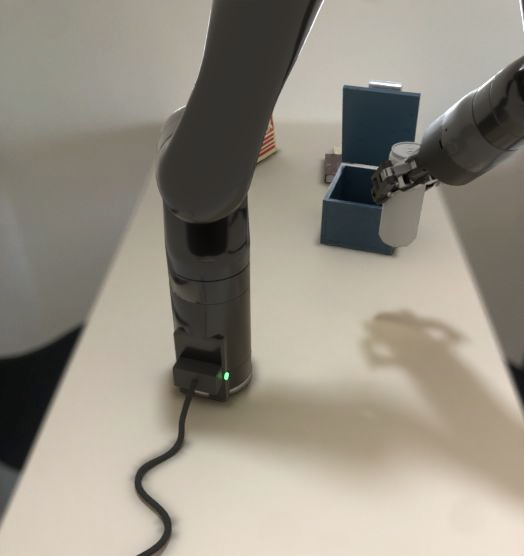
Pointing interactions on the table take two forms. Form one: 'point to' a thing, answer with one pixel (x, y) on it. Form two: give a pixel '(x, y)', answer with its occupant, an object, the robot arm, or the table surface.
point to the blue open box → (352, 211)
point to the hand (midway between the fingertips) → (394, 192)
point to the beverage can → (401, 206)
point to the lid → (376, 121)
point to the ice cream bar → (333, 164)
